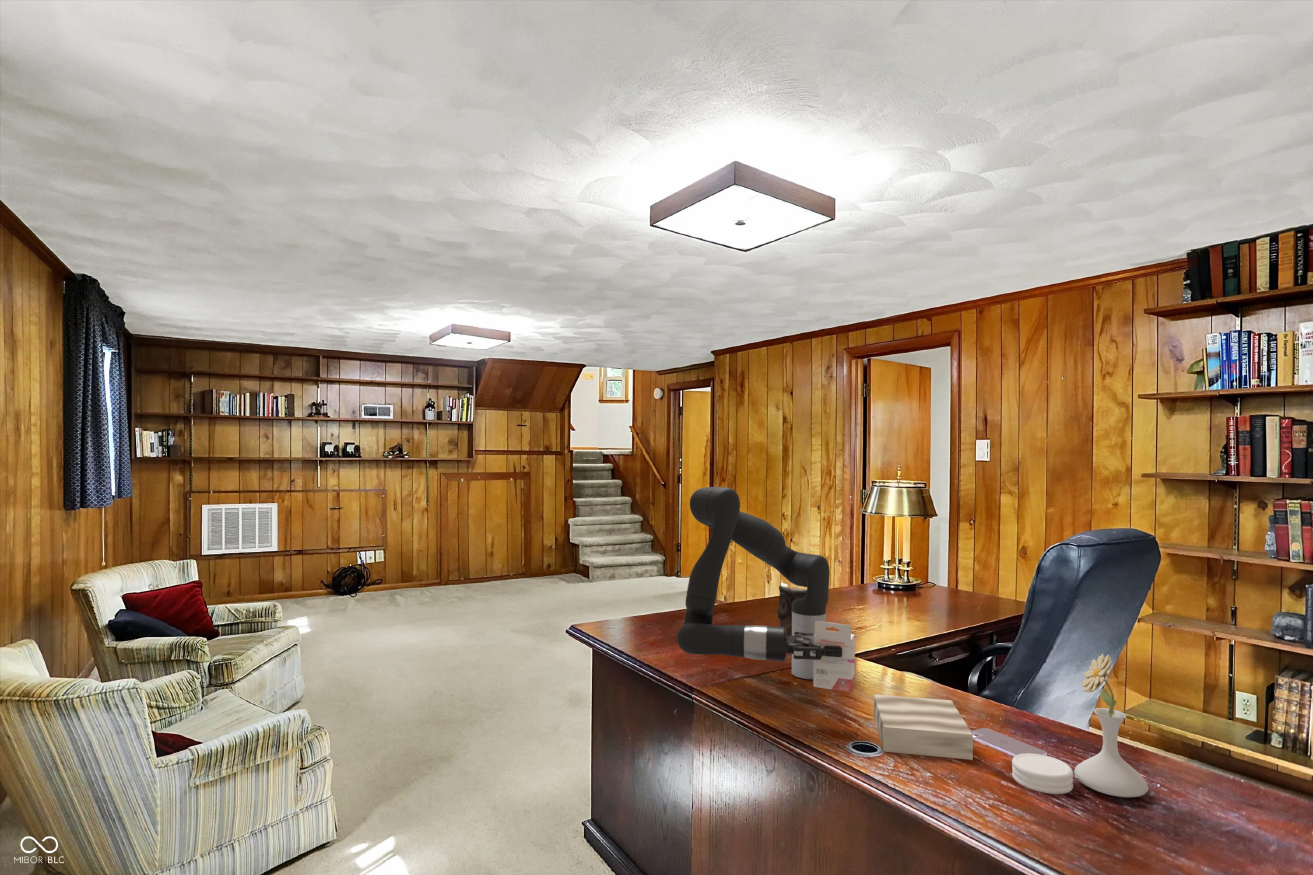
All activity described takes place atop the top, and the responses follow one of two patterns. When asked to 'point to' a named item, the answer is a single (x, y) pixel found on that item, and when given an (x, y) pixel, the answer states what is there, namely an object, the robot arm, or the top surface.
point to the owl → (788, 606)
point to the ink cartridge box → (835, 658)
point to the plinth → (922, 727)
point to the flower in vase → (1108, 744)
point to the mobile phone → (1004, 743)
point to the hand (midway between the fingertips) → (840, 647)
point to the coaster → (1042, 773)
